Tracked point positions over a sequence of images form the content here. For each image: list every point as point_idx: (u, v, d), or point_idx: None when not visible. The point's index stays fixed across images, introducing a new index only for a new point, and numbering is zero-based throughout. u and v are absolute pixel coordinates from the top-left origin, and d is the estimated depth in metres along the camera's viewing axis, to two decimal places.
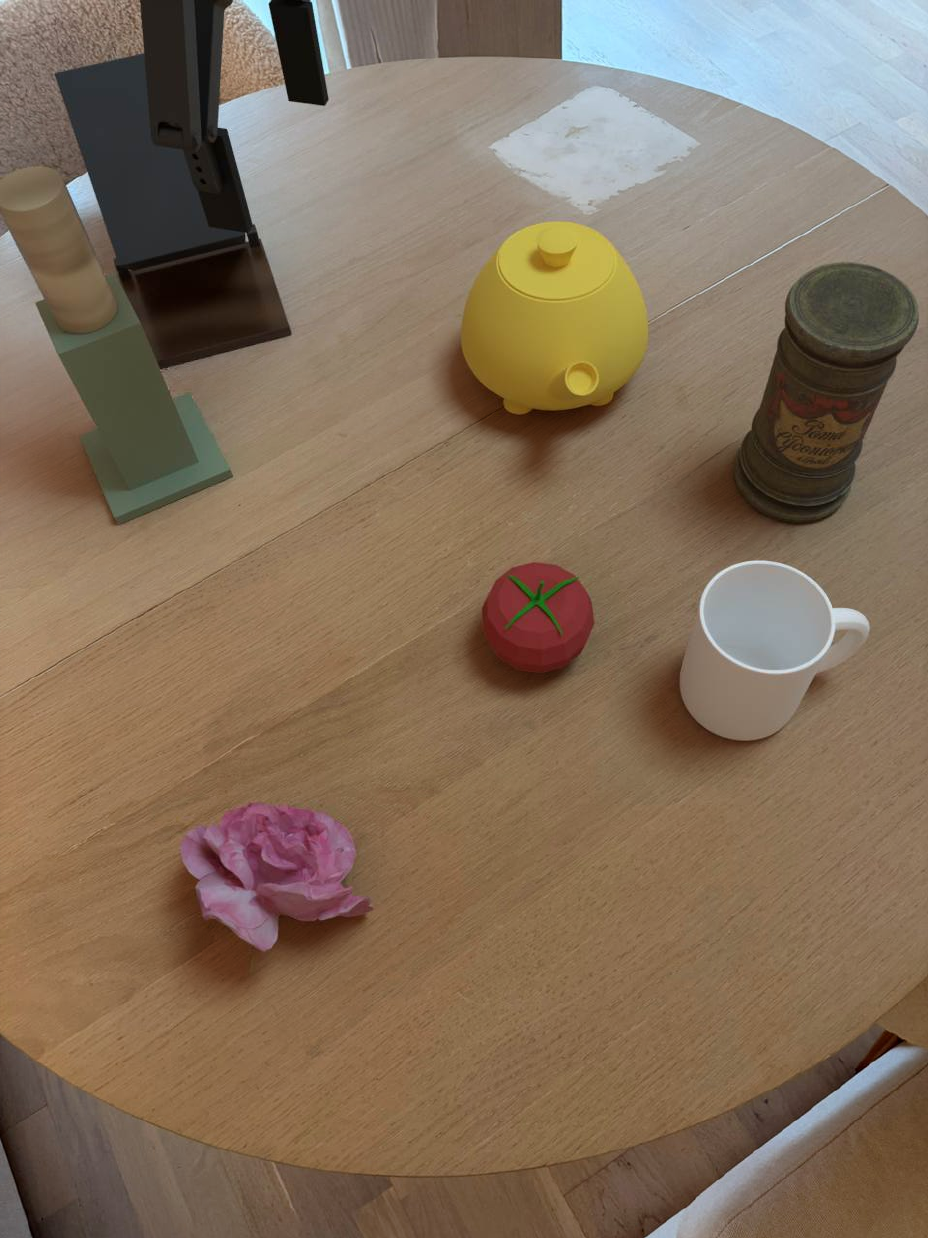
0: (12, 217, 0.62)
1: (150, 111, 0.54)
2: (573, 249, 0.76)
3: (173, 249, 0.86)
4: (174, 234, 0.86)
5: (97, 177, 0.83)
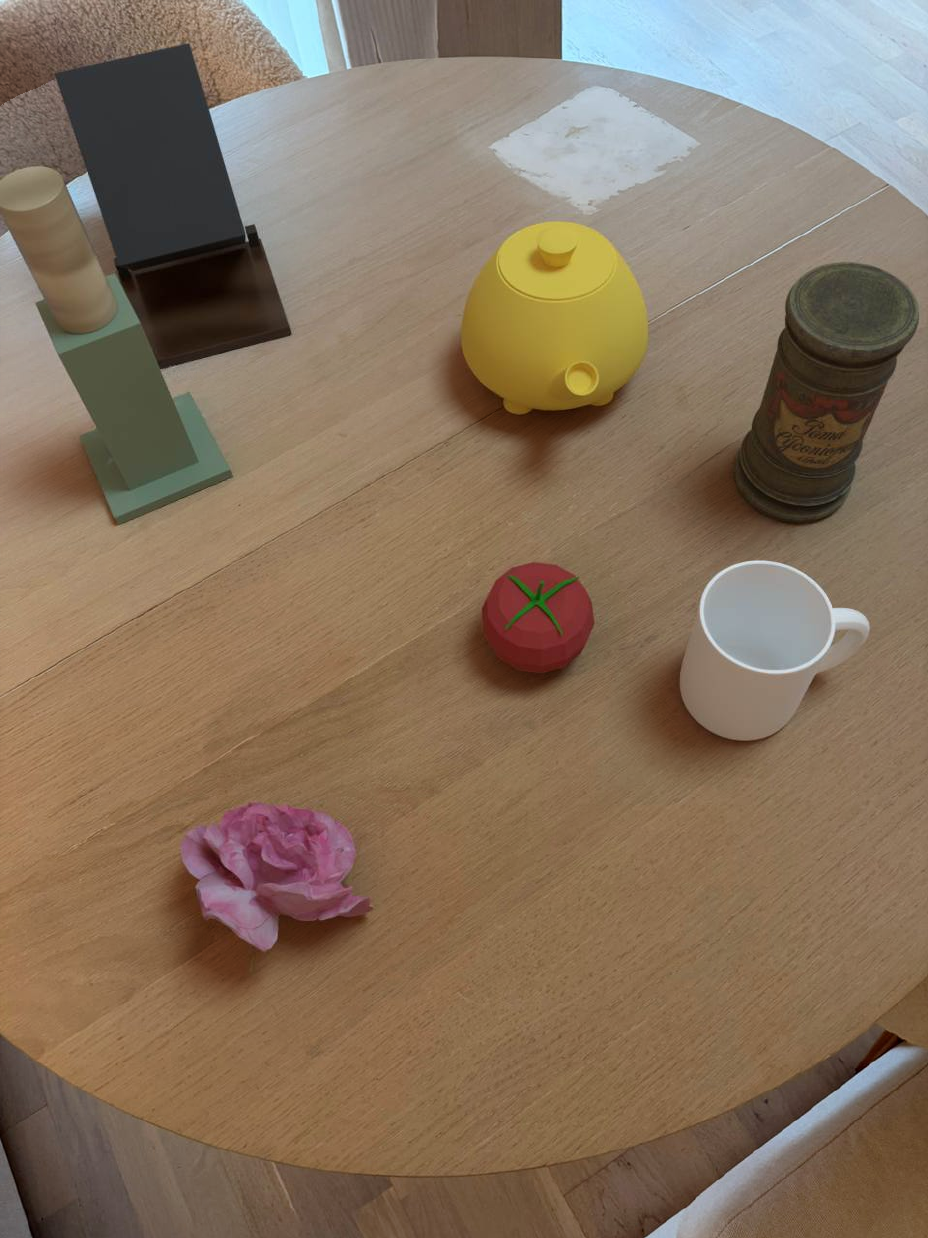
0: (12, 217, 0.62)
1: None
2: (573, 249, 0.76)
3: (173, 249, 0.86)
4: (174, 234, 0.86)
5: (97, 177, 0.83)
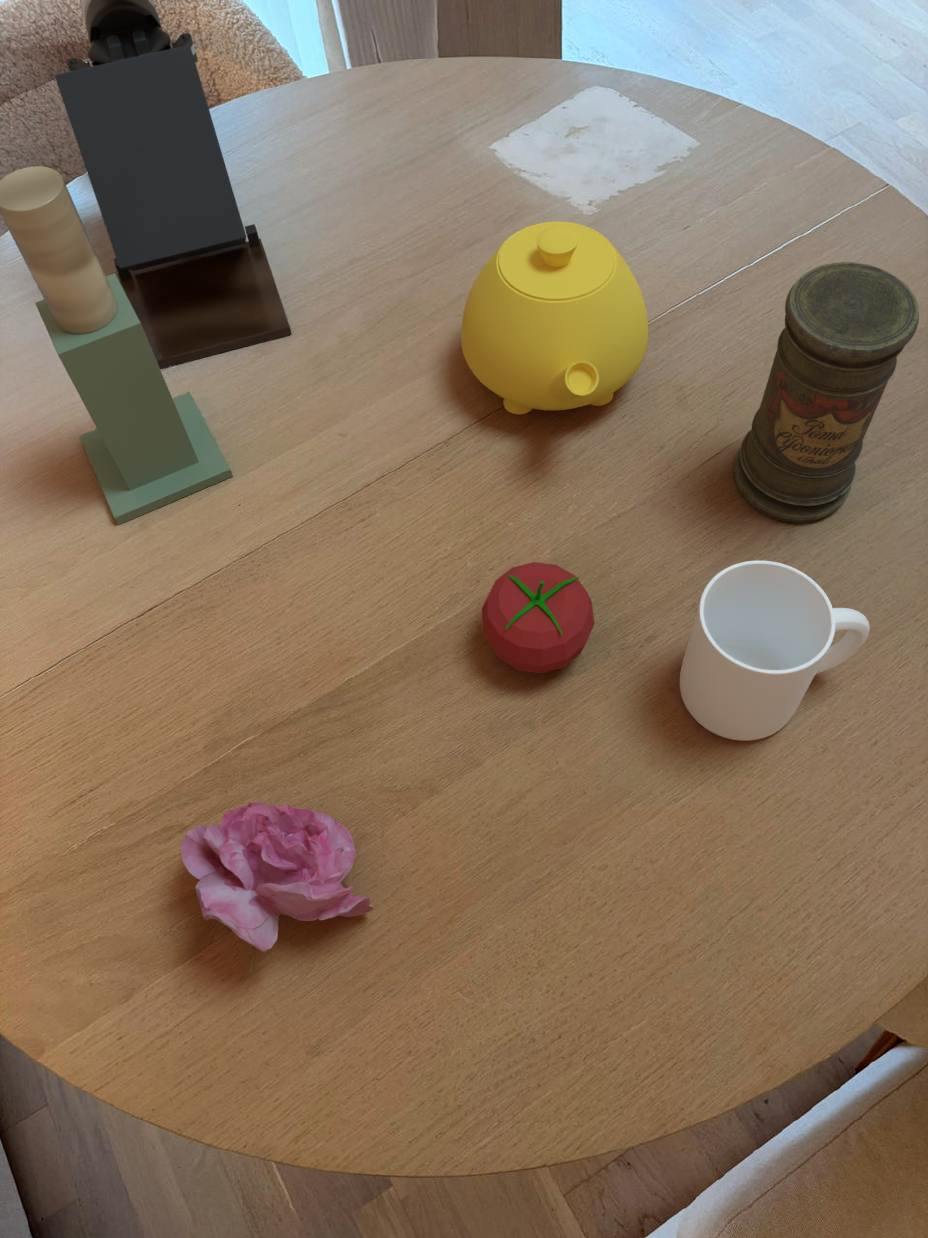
0: (12, 217, 0.62)
1: None
2: (573, 249, 0.76)
3: (174, 252, 0.86)
4: (175, 236, 0.86)
5: (98, 180, 0.83)
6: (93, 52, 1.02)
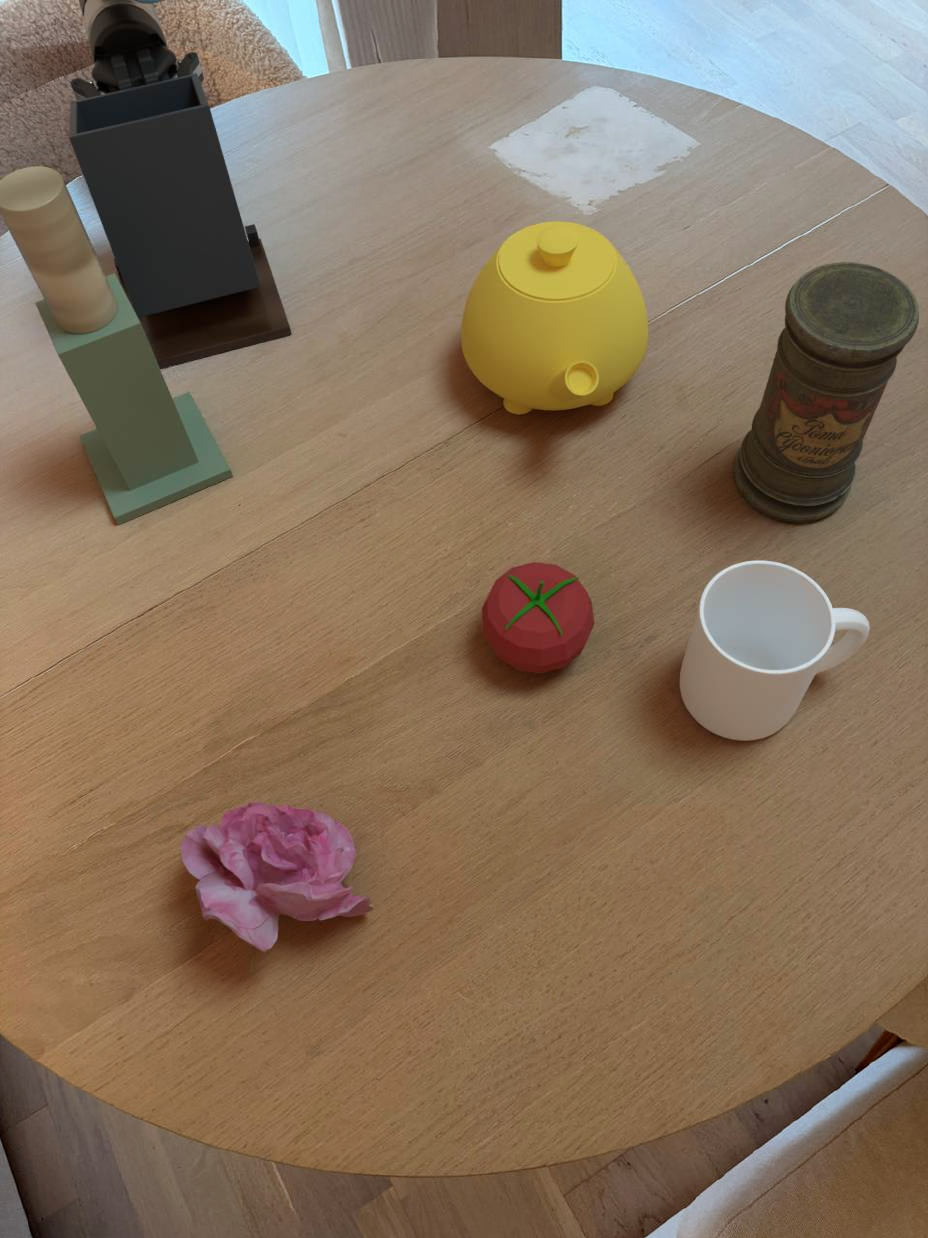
0: (12, 217, 0.62)
1: None
2: (573, 249, 0.76)
3: (190, 302, 0.88)
4: (191, 288, 0.88)
5: (115, 238, 0.83)
6: (97, 72, 0.99)
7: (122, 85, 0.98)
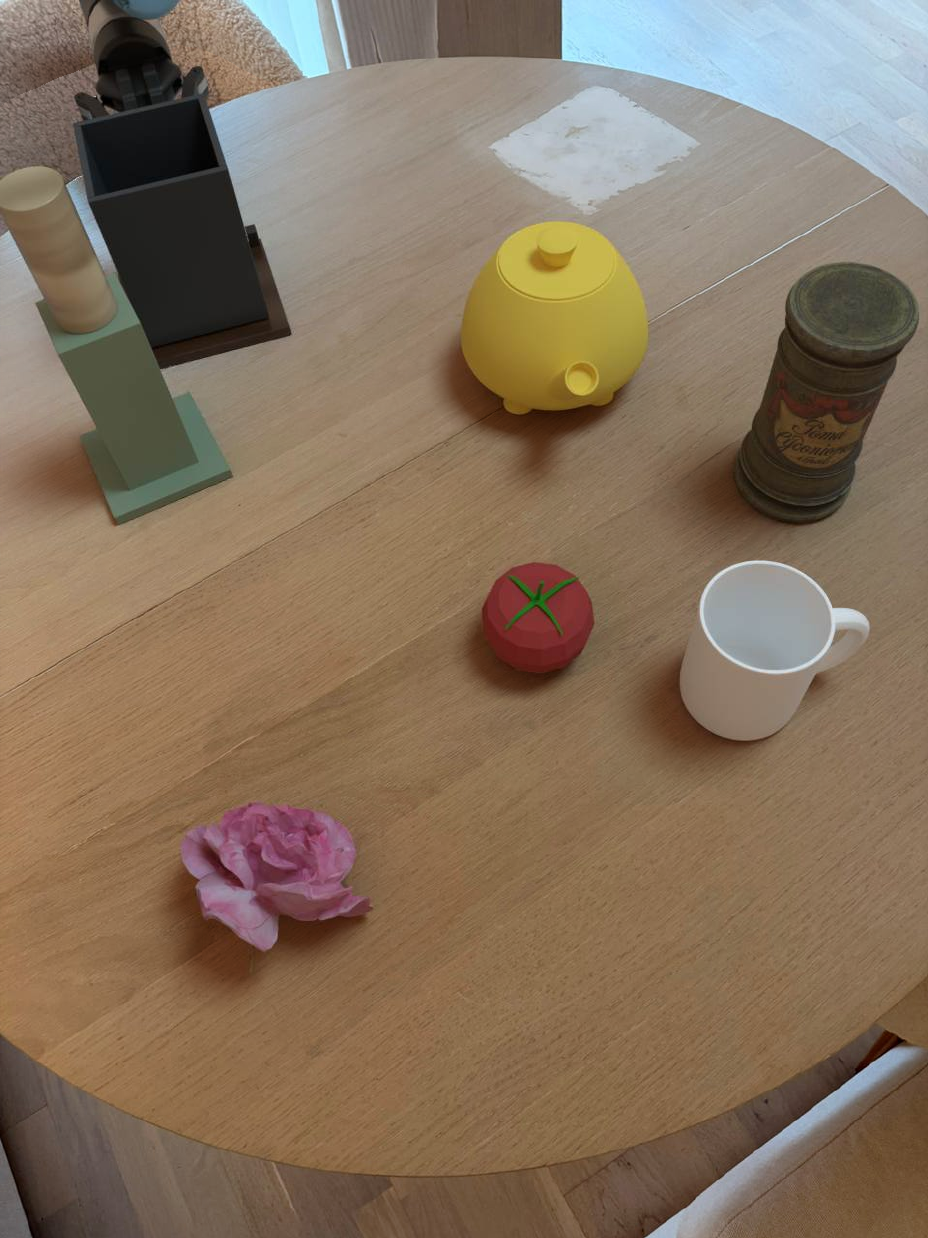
0: (12, 217, 0.62)
1: None
2: (573, 249, 0.76)
3: (201, 333, 0.91)
4: (203, 322, 0.90)
5: (131, 284, 0.85)
6: (101, 86, 0.98)
7: (126, 99, 0.96)
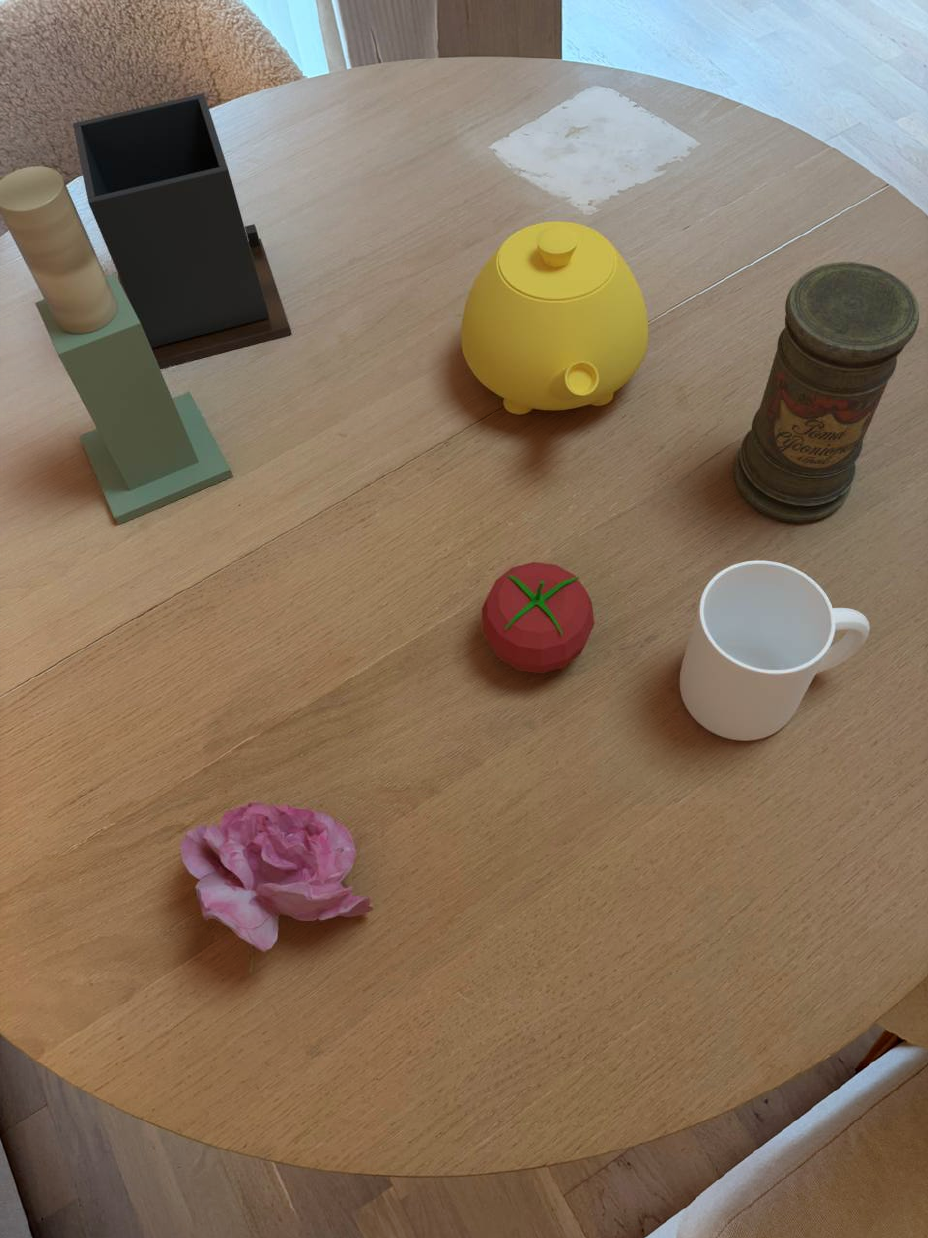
0: (12, 217, 0.62)
1: None
2: (573, 249, 0.76)
3: (201, 333, 0.91)
4: (203, 322, 0.90)
5: (131, 284, 0.85)
6: None
7: None
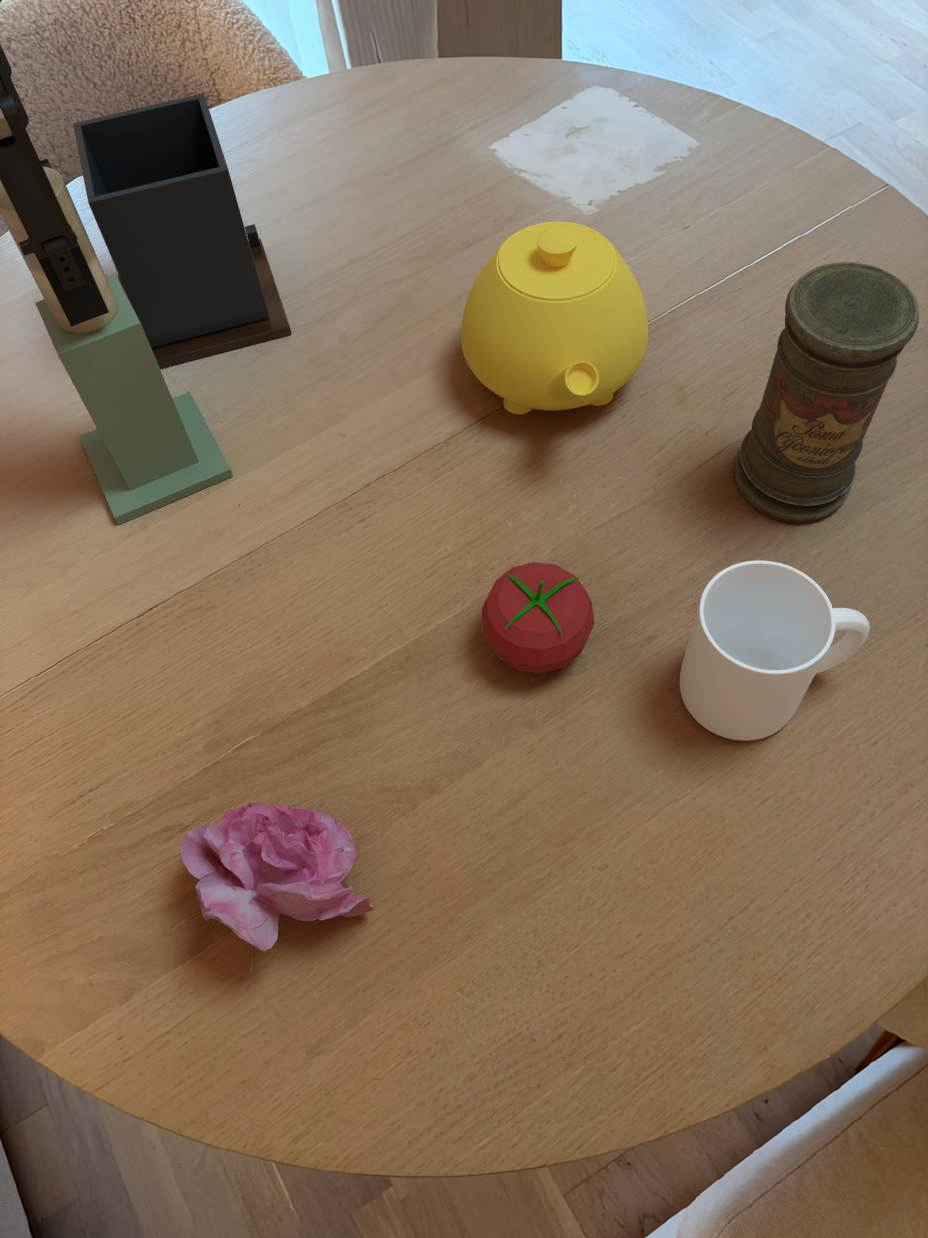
0: (12, 217, 0.62)
1: (31, 238, 0.59)
2: (573, 249, 0.76)
3: (201, 333, 0.91)
4: (203, 322, 0.90)
5: (131, 284, 0.85)
6: None
7: None
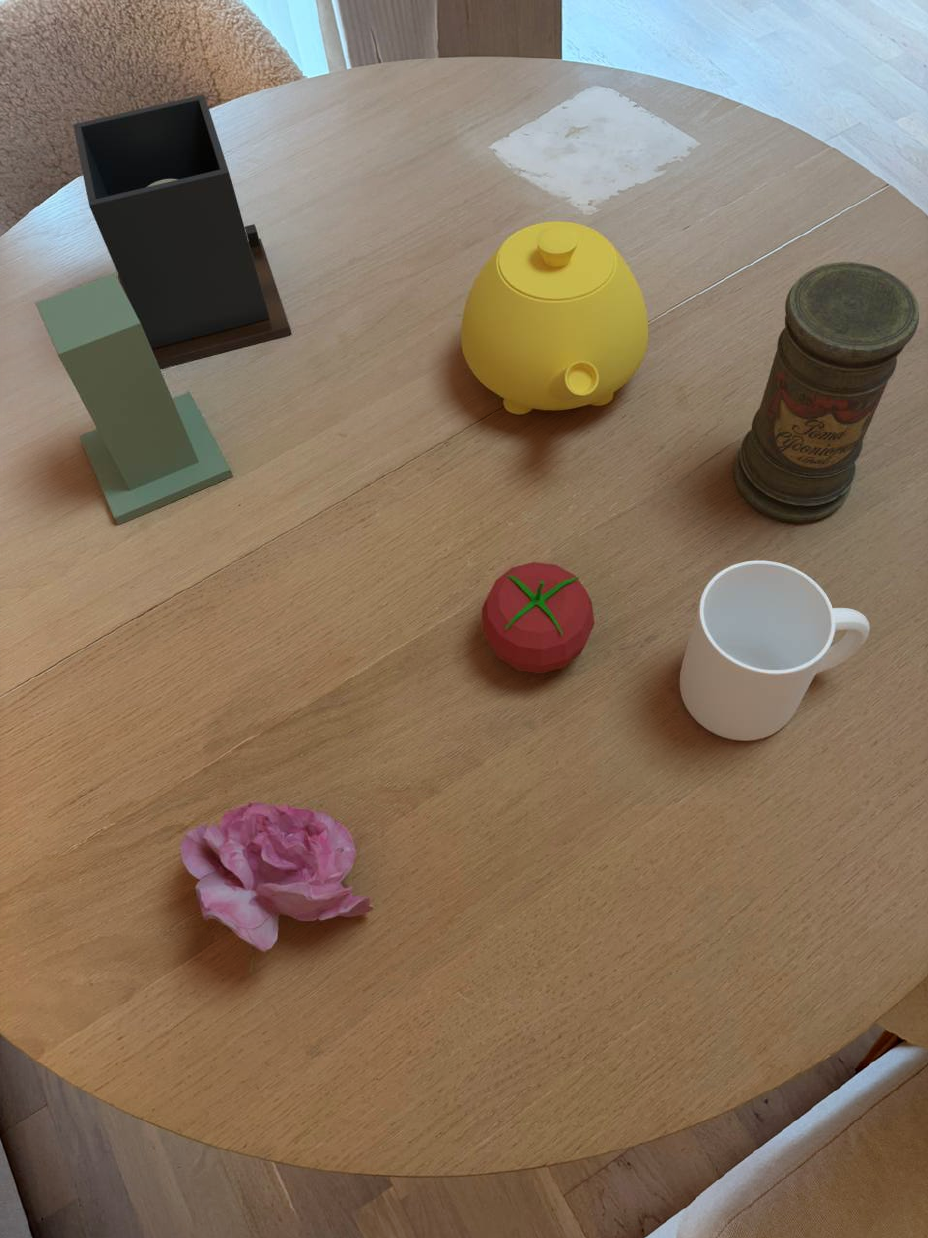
0: None
1: None
2: (573, 249, 0.76)
3: (201, 334, 0.91)
4: (203, 323, 0.90)
5: (131, 286, 0.85)
6: None
7: None
